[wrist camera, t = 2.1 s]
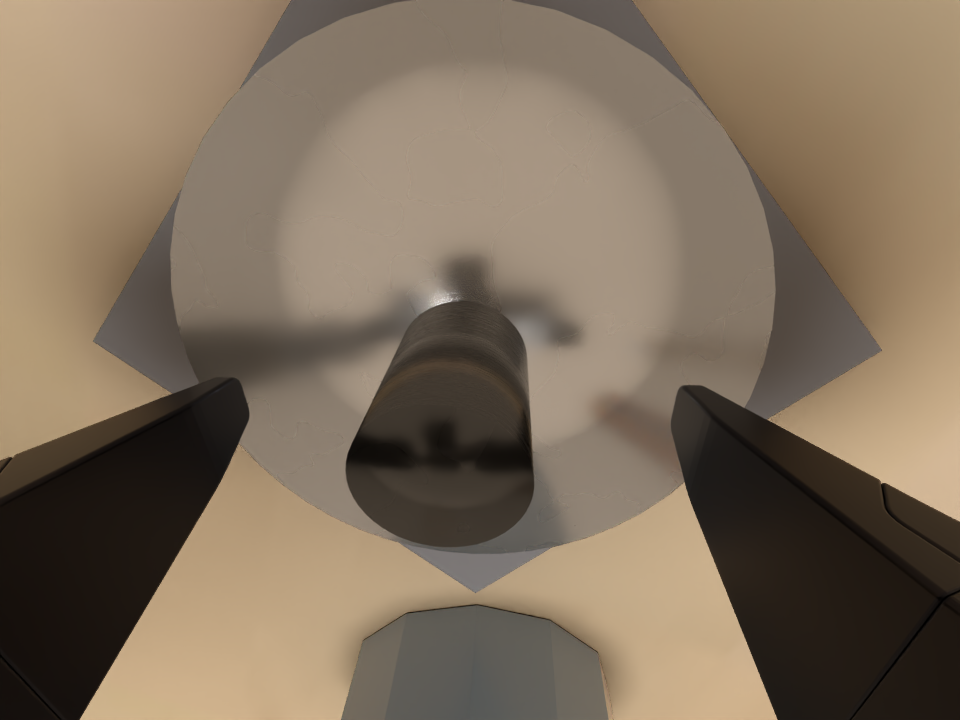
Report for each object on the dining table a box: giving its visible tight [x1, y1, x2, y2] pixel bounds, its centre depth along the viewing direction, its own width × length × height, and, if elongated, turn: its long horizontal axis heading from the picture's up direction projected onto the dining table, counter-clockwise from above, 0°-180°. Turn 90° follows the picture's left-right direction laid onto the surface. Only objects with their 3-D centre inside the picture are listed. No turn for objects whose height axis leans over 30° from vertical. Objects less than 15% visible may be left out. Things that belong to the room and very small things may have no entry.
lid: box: [170, 0, 776, 554], centre depth 9 cm, size 14×14×5 cm
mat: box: [93, 0, 882, 593], centre depth 12 cm, size 14×14×1 cm
